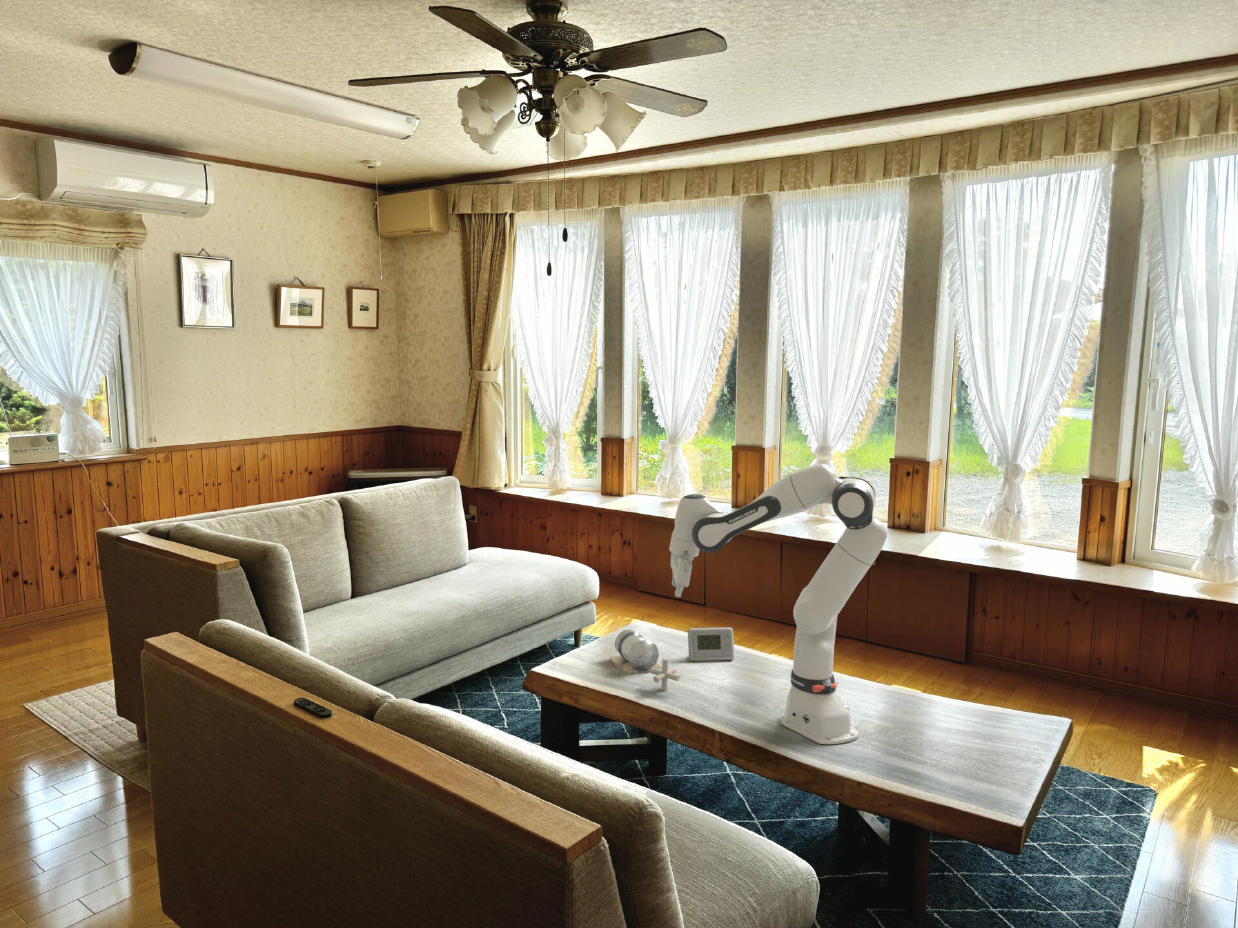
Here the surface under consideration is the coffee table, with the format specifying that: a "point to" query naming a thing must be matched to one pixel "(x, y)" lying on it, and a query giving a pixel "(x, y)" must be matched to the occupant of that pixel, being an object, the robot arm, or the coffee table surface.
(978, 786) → the coffee table surface
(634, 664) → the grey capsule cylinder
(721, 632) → the digital clock
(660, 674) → the pipe connector
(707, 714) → the coffee table surface
